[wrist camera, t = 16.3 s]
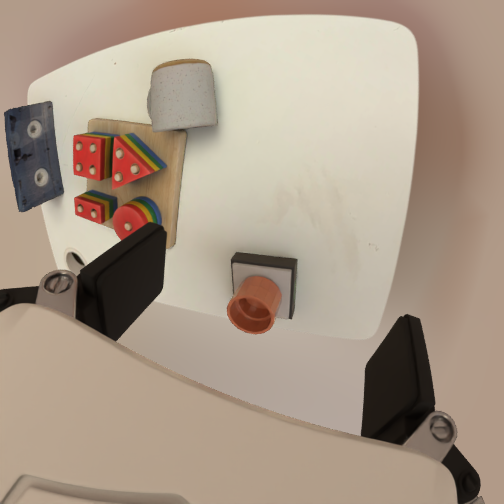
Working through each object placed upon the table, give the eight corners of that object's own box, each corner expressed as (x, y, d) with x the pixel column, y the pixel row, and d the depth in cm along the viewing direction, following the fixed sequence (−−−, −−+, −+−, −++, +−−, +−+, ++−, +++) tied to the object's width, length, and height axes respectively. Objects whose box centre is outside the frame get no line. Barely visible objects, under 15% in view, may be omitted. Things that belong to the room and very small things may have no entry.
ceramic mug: (221, 61, 30) (191, 52, 24) (227, 124, 34) (198, 128, 27) (150, 78, 34) (113, 77, 27) (157, 133, 37) (120, 142, 31)
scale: (298, 259, 40) (294, 269, 37) (294, 310, 43) (291, 322, 41) (236, 251, 42) (229, 261, 39) (239, 301, 46) (233, 312, 43)
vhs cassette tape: (45, 103, 40) (3, 112, 31) (53, 100, 39) (10, 108, 31) (56, 194, 48) (17, 212, 40) (64, 194, 47) (25, 213, 39)
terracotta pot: (291, 297, 39) (284, 321, 35) (261, 317, 42) (251, 340, 38) (260, 265, 38) (248, 286, 34) (231, 288, 41) (217, 309, 37)
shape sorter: (95, 117, 38) (67, 123, 33) (188, 130, 36) (162, 135, 31) (94, 216, 47) (70, 229, 42) (175, 245, 44) (154, 264, 39)
